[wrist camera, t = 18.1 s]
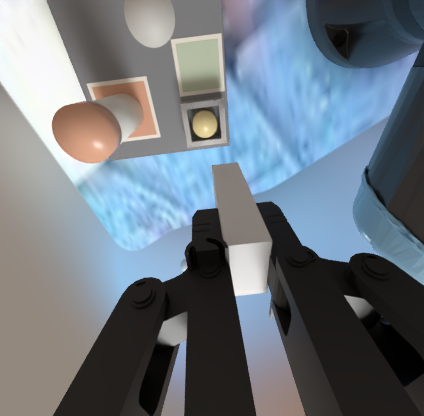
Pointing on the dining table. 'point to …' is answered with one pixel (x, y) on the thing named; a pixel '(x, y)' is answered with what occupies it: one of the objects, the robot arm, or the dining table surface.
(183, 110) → the button housing
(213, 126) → the button
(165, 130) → the grey flat square panel
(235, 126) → the dining table surface
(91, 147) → the ball
